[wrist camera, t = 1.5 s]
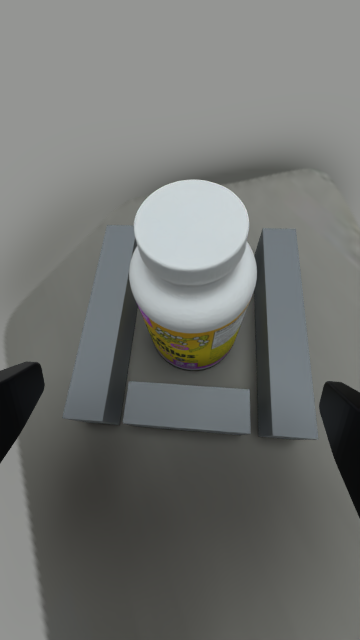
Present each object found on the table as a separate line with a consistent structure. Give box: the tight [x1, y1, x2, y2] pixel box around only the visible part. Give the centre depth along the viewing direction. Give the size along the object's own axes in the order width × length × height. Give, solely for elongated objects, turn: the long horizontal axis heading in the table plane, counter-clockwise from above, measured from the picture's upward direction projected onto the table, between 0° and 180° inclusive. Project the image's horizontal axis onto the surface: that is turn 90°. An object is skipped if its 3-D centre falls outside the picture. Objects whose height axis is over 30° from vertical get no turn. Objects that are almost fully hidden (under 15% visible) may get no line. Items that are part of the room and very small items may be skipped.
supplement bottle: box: [129, 180, 257, 370], centre depth 17 cm, size 7×7×13 cm
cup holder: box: [62, 225, 318, 440], centre depth 21 cm, size 15×15×4 cm
